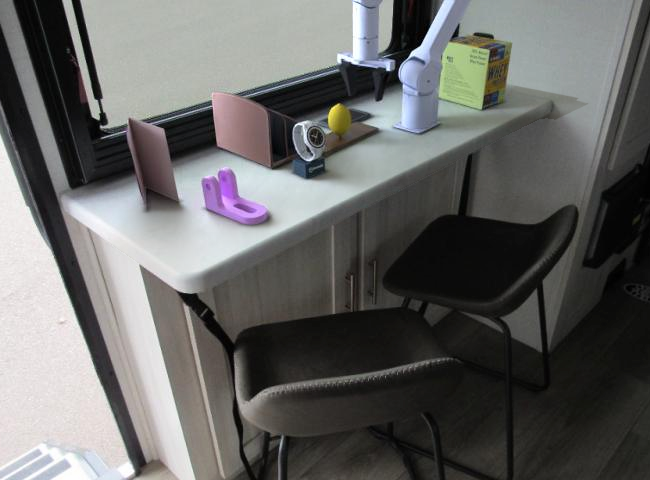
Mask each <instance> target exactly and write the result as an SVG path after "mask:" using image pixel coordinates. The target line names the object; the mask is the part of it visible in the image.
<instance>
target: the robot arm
mask: <svg viewBox="0 0 650 480" xmlns="http://www.w3.org/2000/svg"><path fill="white" fill-rule="evenodd" d="M383 1H384V0H351V2H352V52H345V51H344V52H339V53H337V63H339V64H341V65H338V71H339V72H340V75H341V76H342V78H343V80H344V83H345V87H346V91H347V94H348V97H353V96H356V94H357V79H358V78H357V76H358V70H359V66H362V67H369V68H373V69H374V68H375V70H373V71H372V76H373V81H374V82H373V83H374V101H375V102H377V103H379V102H381V101H382V100H384V95H385V90H386V88H387V84H388V82H389V80H390V78H391V77H392V75H393V72H394V70H396V60H394V59H390V58H388V57H384V56H380V55H379V40H380V39H379V38H380V37H379V36H380V33H379V31H380V5H381V4H382V2H383ZM471 1H472V0H443V1H442V4H441V6H440V8H439V9H438V12H437V13H436V16H435V17H434V20H433V21H432V23H431V25H430V27H429V29H428V31H427V33H426V35H425V37H424V39H423V41H422V43H421V45H420V46H418V47H417V48H415V49H414V50H412V51H411V52H410V54H409V56H408V58H406V59H405V60H404V61H403V62H402V63H401V64H400V67H399V68H398V78H399V81H400V82H401V83H402V104H401V121H400V122H398V123H396V124H394V125H393V126H394V128H397V129H400V130H403V131H406V132H407V131H408V132H410V133H415V134H418V135H419V134H422V133H424V132H427V131H429V130H430V129H433V128H434V127H437V126H438V125H441V121H439V120H438V116H439V105H440V98H439V92H438V91H437V90H436V89H437V87H438V85H439V83H440V77H441V71H442V69H443V64H442V54H443V52H444V50H445V48H446V46H447V44H448V43H449V41H450V39H452V37H453V35H454V33H455V32H456V30H457V27H458V26H459V24H460V22H461V20H462V18H463V17H464V14H465V13H466V10H467V9H468V7H469V5H470V3H471Z"/></svg>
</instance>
